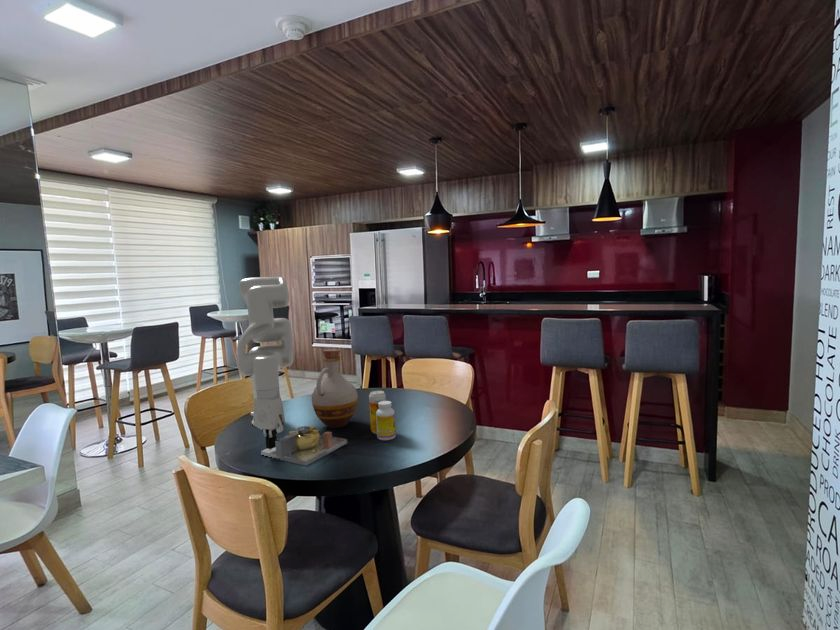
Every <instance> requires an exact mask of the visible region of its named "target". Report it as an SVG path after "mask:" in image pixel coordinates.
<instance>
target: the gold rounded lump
mask: <svg viewBox="0 0 840 630" xmlns="http://www.w3.org/2000/svg"><path fill="white" fill-rule="evenodd" d="M316 428H317V427H316V426H314V425H313V426H307V425H305V426H299V427H298V428H297V430H290V431H289V432H288V434H287V435H284V436H283V437H281V438H278V439H277V440H276V441H275V444H276V456H278V457H283V456H285V455H287V454H289V453H291V452H293V451H295V450H303V449H309V448H313V447H315V446H317V445H318V444H319V443H320V436H319V434H320V429H316Z"/></svg>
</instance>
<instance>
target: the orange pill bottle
mask: <svg viewBox="0 0 840 630" xmlns="http://www.w3.org/2000/svg"><path fill="white" fill-rule="evenodd" d="M386 398H387V397H386V393H385V391H383V390H373V391H370V392H369V395H368V401H369V419H370V421H369V422H370V431H371V433H372V434H374V435H377V421H376V411H377V410H378V409H379V406H378V403H379V402H381V401H387V399H386Z"/></svg>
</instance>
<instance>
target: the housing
mask: <svg viewBox="0 0 840 630" xmlns="http://www.w3.org/2000/svg"><path fill="white" fill-rule="evenodd" d="M319 436H320V443H319V444H318V445H317V446H315V447H313V448H309V449H303V450H295V451H293V452H291V453H289V454H287V455H285V456H283V457H278V456H276V447H274V448H272V449H267V448H265V449H263V450H261V451H260V453H261V455H264V456H263V457H265V456H268V457H267V458H270V457H272V458H271V459H274V458H277V459H276V460H278V459H280V461H283V460H284V461H283V462H287V461H288V462H287V463H291V462H292V463H293V464H297V465H301V466H304V467H305V466H306V467H307V466H308V465H310V464H312V463H314V462H316V461H317V460H319V459H321V458H323V457H325V456H327V455H329V454H330V453H332V452H334V451H336V450H337V449H339V448H341V447H343V446H344V445H347V444H348V438H342V437H336V436H333V431H325V432H323V434H320V433H319Z"/></svg>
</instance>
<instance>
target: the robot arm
mask: <svg viewBox="0 0 840 630" xmlns="http://www.w3.org/2000/svg"><path fill="white" fill-rule="evenodd" d="M238 290H239V293H240V295H241V298H242V300H243V302H244V303H245V305H246V308H247V316H248V326H247V328H245V330H244V331H243V332H242V333H241V335H240V337H239V338H238V341H237V345H236V357H237V360H236V361H237V368H238V369H237V370H238V372H239V373H240V374H241V375H242V376H246V377H249V376H251V379H252V392H253V407H252V409H253V410H252V411H251V412H250V416H253V417H252V418H253V419H252V420H251V425H252V424H253V426H254V427H256V428H258V429H259V430H261V431H262V433H263V437H265V449H272V448H274V447H276V444H275V441H276V440H278V439H277V438H278V437H277V435H278V434H279V433H282V432H284V425H285V412H284V411H285V410H284V404H283V401H282V397H281V392H280V380H279V377H280V376H279V371H280V370H281V369H282V368H287V367H290V366H292V365H293V363H294V347H293V344H294V343H293V332H292V331H293V330H292V325H291V322H290V321H289V319H288V318H285V317H276V318H275V316H274V309H273V308H284V307H285V308H286V307H287V306H288V305H289V302H290V294H289V287H288V284H287V282H286V279H285V278H284V277H282V276H259V277H258V276H256V277H247V278H243V279H240V281H239V283H238ZM251 341H252V342H254V343H255V344H256V343H258V344H261V343H262V344H263V343H264V344H265V343H274V342H276V343H277V342H280V343H281V344H280V343H279V344H268V345H260V346H258V345H257V346H254V347H251V349H250V350H249V351H248V353H246V350H247V345H248V344H249V343H250V342H251Z"/></svg>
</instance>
